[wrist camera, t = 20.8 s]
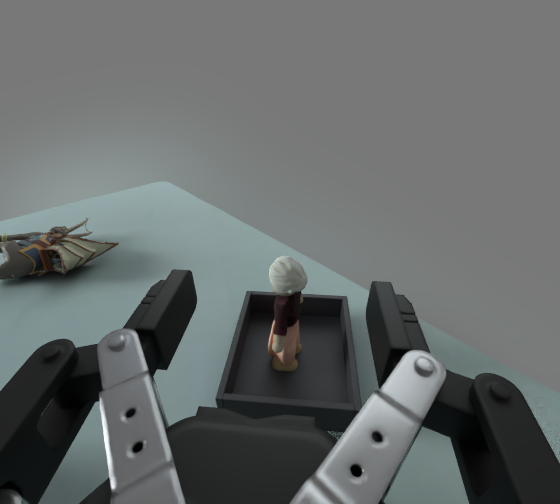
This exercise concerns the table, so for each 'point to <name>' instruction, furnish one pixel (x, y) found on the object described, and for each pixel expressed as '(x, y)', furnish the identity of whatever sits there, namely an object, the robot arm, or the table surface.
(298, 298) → the grandmother figurine
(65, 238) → the figurine
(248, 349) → the pan
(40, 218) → the table surface
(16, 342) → the table surface
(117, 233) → the table surface
